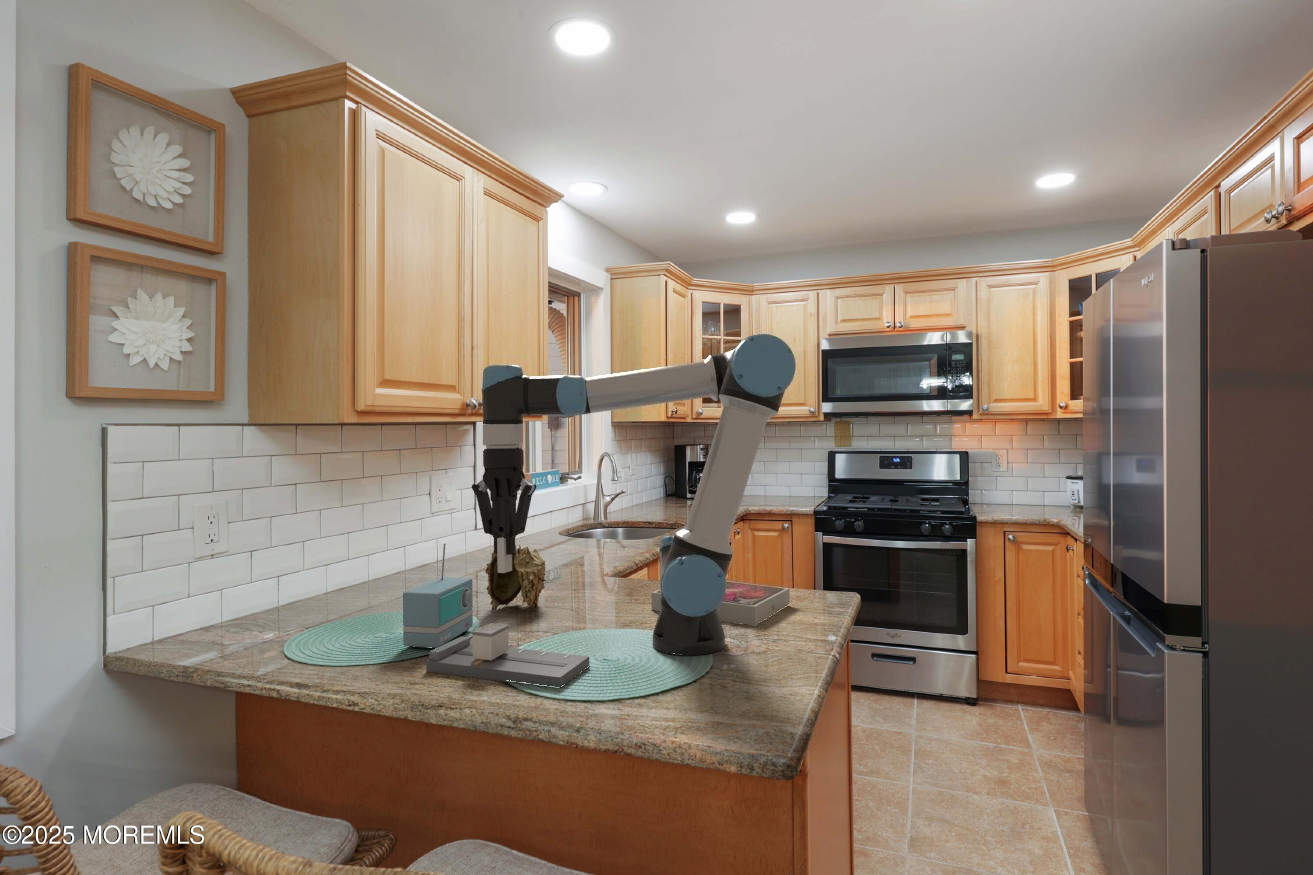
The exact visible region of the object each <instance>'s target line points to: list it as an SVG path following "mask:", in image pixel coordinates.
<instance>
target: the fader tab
mask: <svg viewBox="0 0 1313 875" xmlns="http://www.w3.org/2000/svg"><path fill="white" fill-rule="evenodd" d="M509 629H510V624H503V623H493V622H492V623H491V622H490V623H488V624H485V625H484V626H481V627H480V628H479V627H478V628H477V629H474V630H473V631H471V636H472V643H473V658H475V659H484V660H493V659H495V658H497V657H498V656H500V655H502V654H504V653H506V652H507V651H509V646H510V644H509V633H510V632H509Z"/></svg>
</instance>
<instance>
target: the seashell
mask: <svg viewBox="0 0 1313 875" xmlns="http://www.w3.org/2000/svg"><path fill="white" fill-rule="evenodd" d="M518 546H519V547H517V544H515V554H512V571H509V572H506V573H498V561H497V554H495V553H494V550H493V551H492V553H491V560H490V562H489V563H486V569H484V572H485V574H486V575H488V576H487V581H488V585H487V586H486V590H487V594H488V595H489V597H490V599H491V601H490V605H491V611H497V609H498V607H499V606H506V607H508V605H510V603H512V602H513V601H514V600H515V599H516V598H517V596H519V594H520V592H521V596H522V598H523V599H522V605H523V604H524V603H526V604H527V606H528V607H531V608H534V611H535V612H536V611H537V608H538V605H539V597H540V595H541V593H542V590H544V589H545V586H546V585H545V584H544V582H547V580H546V577H545V576H546V569H547V568H546V561H545V560H544V559H543V557H542V556H541V555H540V554H539V552H538V549H536V548H534V549H533V550H530V549H529V546H524V547H523V548H521V547H522V546H521V544H519V545H518Z"/></svg>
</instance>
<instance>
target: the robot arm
mask: <svg viewBox="0 0 1313 875" xmlns="http://www.w3.org/2000/svg"><path fill="white" fill-rule="evenodd" d="M796 367H797V366H796V358H795V355H794V353H793V351H792V349H791V347H790V346H789V344H787V343H786V342H785V341H784V340H783V339H782V338H780V337H777V336H775V335H772V334H769V333H758V334H752V335H749V336H747V337H745V338H743V339H742V340H741V341H739V343H738V344H737V345H736V347H735V348H734V349H732V350H729V351H726V352H722V353H718V354H717V353H716V354H712V355H711V354H710V355H708V357H707V358H706V359H705V360H703V361H697V362H690V363H682V364H675V365H668V366H660V367H655V368H654V367H653V368H648V369H647V368H646V369H640V370H633V371H627V372H625V371H624V372H619V373H617V372H616V373H612V374H605V375H604V374H603V375H597V376H590V377H583V376H581V375H569V374H564V375H540V376H539V375H537V376H532V375H524V372H523V368H522V367H521V366H519V365H514V364H494V365H493V364H492V365H488V366H486V367H485V368H484V369H483V371H482V383H481V384H482V387H481V397H482V398H481V400H482V402H481V403H482V445H483V446H484V447H485V448H484V450H482V466H483V468H484V472H483V474H482V479H480V480H479V482H477V483H473V484H472V485H471V489H472V491H473V492H474V494H475V496H476V497H475V498H476V501H477V505H478V509H479V514H480V518H481V523H482V528H483V532H484V533H485V534H488V535H491V537H492V538H493V551H494V553H495V554H497V561H498V573H506V572H509V571H512V554H515V545H516V538H517V536H518V535H521V534H524V533H525V532H526V526H527V521H528V517H529V512H530V506H531V501H532V497H533V495H534V493H535V491H536V489H537V484H536V483H531V482H530V481H528V480H527V479H526V475H525V473H524V465H525V462H524V460H525V458H524V449H523V448H521V446H523V445H524V416H529V417H531V416H554V417H558V418H561V419H567V418H573V417H575V416H582V415H588V414H594V413H595V414H597V413H602V412H610V411H618V410H623V409H624V410H626V409H632V408H638V407H646V406H654V405H661V404H668V403H675V402H682V401H689V400H698V399H704V398H705V399H706V398H710V399H712V400H713V401H714V402H719V401H720V403H721V404H722V406H723V407H722V411H721V414H720V416H719V417H720V418H719V421H718V423H717V427H716V430H715V432H714V436H713V439H712V443H711V445H710V448H709V452H708V455H707V458H706V461H705V465H704V467H703V470H702V474H701V476H700V480H699V484H698V486H697V489H696V491H695V492H696V493H695V495H694V498H693V502H692V506H691V509H690V512H689V514H688V517H687V520H686V523H685V524H686V525H685V526H684V527H683V528H681V529H679V530H678V531H677V530H676V532H674V535H665V536H662V538H661V539H660V546H659V553H660V554H659V555H660V560H659V561H660V562H659V563H660V566H659V568H660V572H659V573H660V589H661V608H660V612H659V611H658V612H659V613H658V616H657V619H656V622H655V624H654V625H655V626H654V629H653V632H652V646H654V647H655V648H654V649H656V648H657V649H658V650H657V649H656V650H657V651H659V650H661V651H660V652H662V651H664V652H663V653H665V652H667V653H666V654H669V653H675V654H682V655H681V656H701V654H704V655H708V654H707V653H710V654H713V653H717V652H719V651H721V650H723V649H724V648H725V646H726V644H725V643H726V637H725V636H726V635H725V631H724V628H723V626H722V621H720V619H719V616H718V612H717V609H716V608H717V607H718V605H719V604H720V603H721V601H722V599H723V597H724V594H725V591H726V581H727V575H728V571H729V568H730V564H731V561H732V558H733V554H734V549H733V548H732V546H731V544H730V537H731V534H732V531H733V528H734V526H735V523H736V519H737V515H738V513H739V509H740V506H741V503H742V500H743V497H744V494H745V490H746V487H747V483H748V481H749V478H750V475H751V472H752V469H753V465H754V463H755V460H756V456H757V453H758V450H759V446H760V443H761V440H762V437H763V434H764V431H765V428H766V425H767V422H768V420H770V419H771V418H774V417H775V416H777V415H778V414H779V410H780V408H781V405H782V400H783V397H784V394H785V392H786V390H787V389H788V388H789V386H790V385H791V384H792V382H793V381H794V377H795V374H796ZM488 490H489V492H490V493H489V492H488ZM519 490H520V493H519V498H518V492H519ZM517 500H518V502H517ZM675 654H674V655H675Z"/></svg>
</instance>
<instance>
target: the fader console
mask: <svg viewBox="0 0 1313 875" xmlns="http://www.w3.org/2000/svg"><path fill="white" fill-rule="evenodd" d="M425 662H426V663H425V664H426V665H425V666H426V669H425V670H426V672H427V673H428V672H429V673H435V674H443V675H451V676H460V677H465V678H466V677H467V678H472V679H481V680H482V679H483V680H489V681H497V682H503V683H507V682H506V680H509V681H510V680H511V681H516V682H526V683H531V684H539V685H547V686H555V687H561V686H562V685H564V684H566V683H567V682H569V681H570V680H571V679H573V678H574V677H575V676H577V675H578V674H579V673H580V672H581V671H583V670H584V669H585V668H587V667H588V666H589V667H590V656H589V655H582V654H571V653H563V652H554V651H553V652H552V651H544V650H536V649H534V650H533V649H528V648H527V649H526V648H518V647H509V651H507V652H506V653H504V654H502V655H500V656H498V657H497V658H495V659H493V660H484V659H475V658H473V642H471V637H470V636H460V637H456V638H454V639H452V640H450V641H448V642H446V643H445V644H443V645H442V646H440V647H438V648H436V649H432V650H430V651H429V659H427V660H426V661H425ZM589 667H588V668H589ZM588 668H587V669H588ZM584 671H585V670H584ZM584 671H583V672H584ZM579 675H580V674H579ZM579 675H578V676H579ZM578 676H577V677H578ZM575 678H576V677H575ZM575 678H574V679H575ZM574 679H573V680H574ZM571 681H572V680H571ZM571 681H570V682H571ZM570 682H569V683H570ZM567 684H568V683H567ZM567 684H566V685H567Z"/></svg>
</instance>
